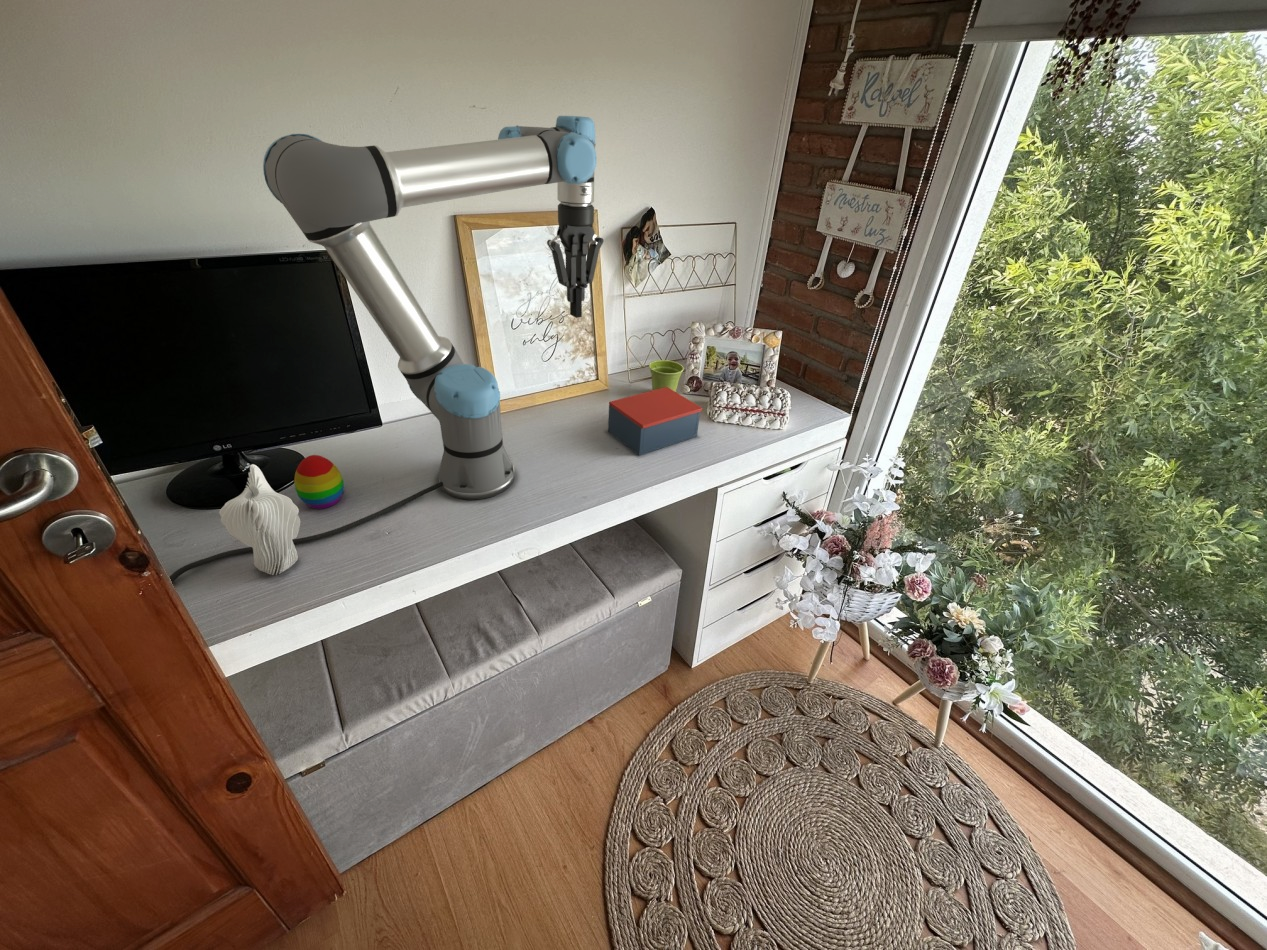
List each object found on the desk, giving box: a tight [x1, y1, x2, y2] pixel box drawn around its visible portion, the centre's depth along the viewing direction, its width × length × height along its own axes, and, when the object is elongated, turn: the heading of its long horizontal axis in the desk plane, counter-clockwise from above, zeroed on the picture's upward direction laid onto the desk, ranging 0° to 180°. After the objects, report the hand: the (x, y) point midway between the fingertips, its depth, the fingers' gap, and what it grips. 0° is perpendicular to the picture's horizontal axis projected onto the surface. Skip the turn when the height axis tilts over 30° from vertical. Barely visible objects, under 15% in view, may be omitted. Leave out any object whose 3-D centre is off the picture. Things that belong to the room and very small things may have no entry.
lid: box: [608, 387, 703, 429], centre depth 138 cm, size 14×18×1 cm
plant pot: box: [648, 359, 685, 393], centre depth 159 cm, size 9×9×9 cm
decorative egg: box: [293, 454, 345, 510], centre depth 110 cm, size 8×8×10 cm
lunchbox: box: [607, 404, 701, 456], centre depth 140 cm, size 13×18×7 cm
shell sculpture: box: [218, 463, 301, 576], centre depth 92 cm, size 8×8×18 cm
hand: (575, 315), depth 133 cm, fingers closed
